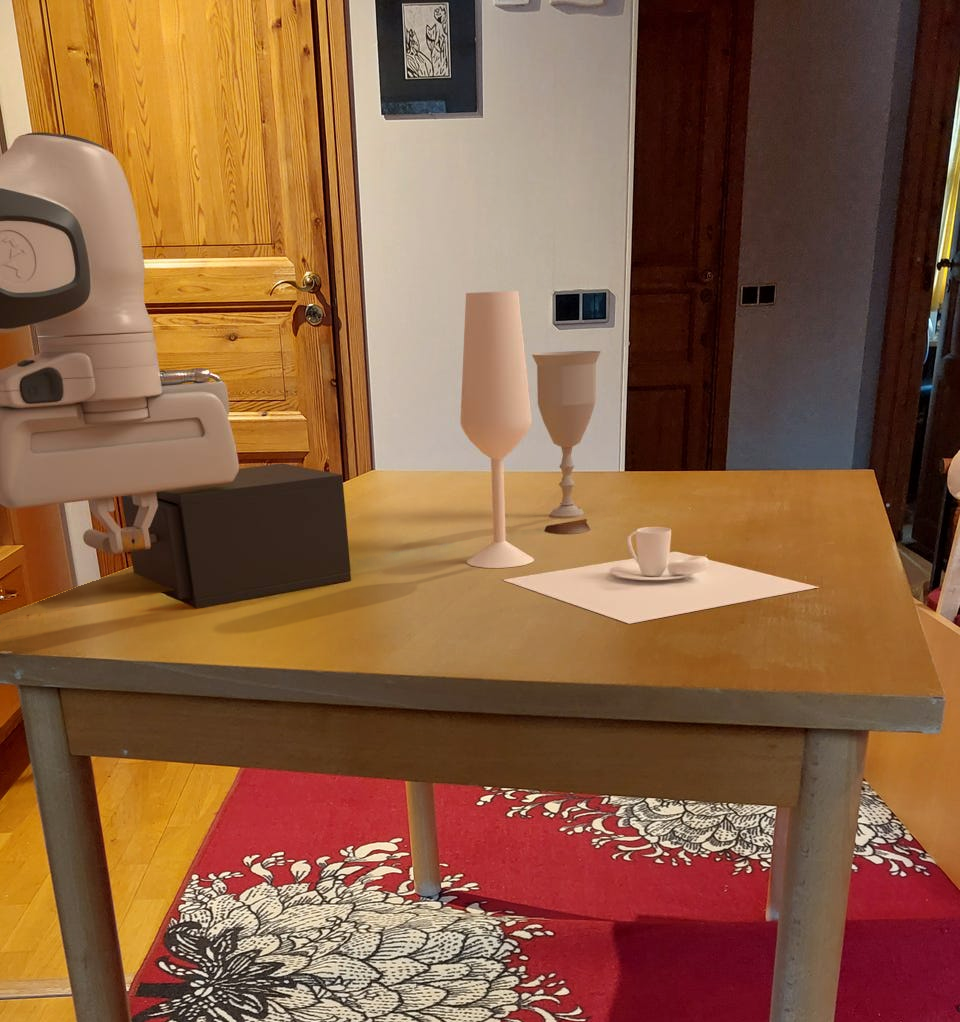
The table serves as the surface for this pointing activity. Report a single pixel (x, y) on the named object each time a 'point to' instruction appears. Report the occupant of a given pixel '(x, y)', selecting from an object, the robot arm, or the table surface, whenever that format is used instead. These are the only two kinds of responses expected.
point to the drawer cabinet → (263, 534)
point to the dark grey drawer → (154, 547)
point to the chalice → (566, 418)
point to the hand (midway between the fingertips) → (131, 550)
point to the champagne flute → (495, 402)
